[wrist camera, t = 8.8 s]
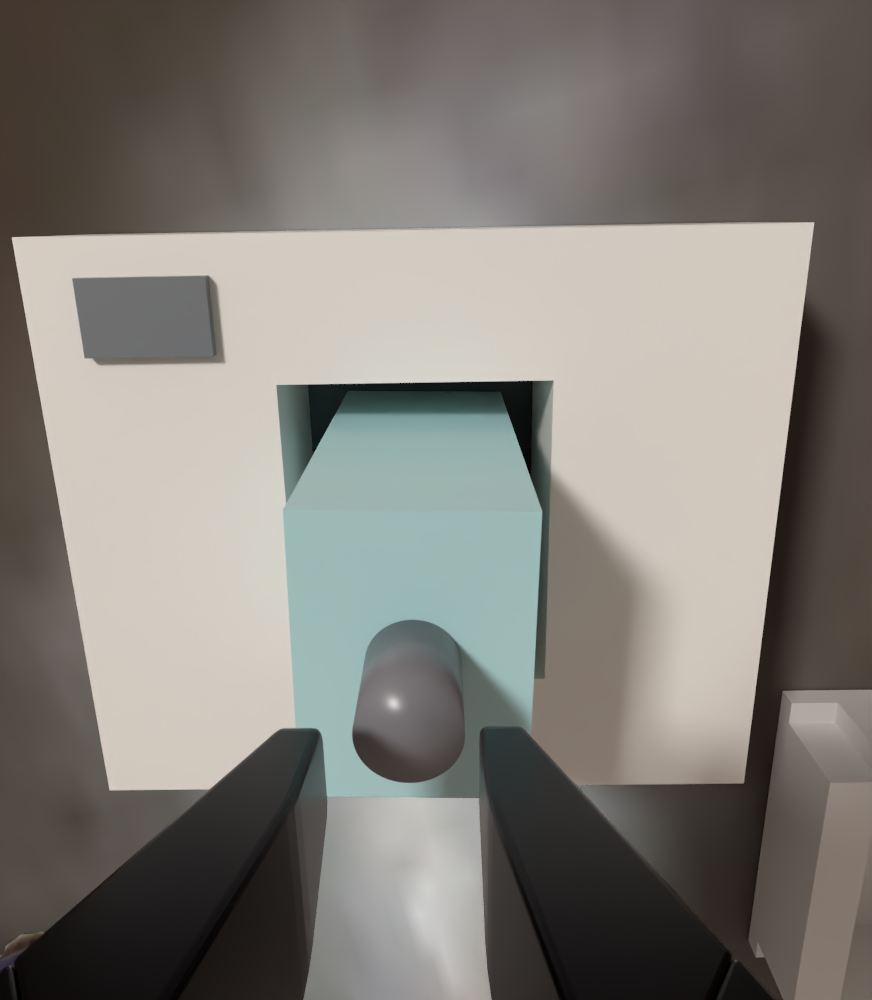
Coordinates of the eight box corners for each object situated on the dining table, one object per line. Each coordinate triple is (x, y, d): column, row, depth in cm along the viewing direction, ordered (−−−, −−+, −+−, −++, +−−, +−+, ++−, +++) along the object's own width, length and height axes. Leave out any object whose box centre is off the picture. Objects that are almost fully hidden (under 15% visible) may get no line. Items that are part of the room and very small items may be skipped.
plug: (500, 391, 16) (560, 564, 8) (494, 578, 17) (541, 886, 9) (348, 390, 16) (254, 561, 8) (353, 576, 17) (278, 884, 9)
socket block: (743, 222, 15) (820, 222, 12) (696, 695, 18) (748, 790, 15) (92, 234, 15) (4, 237, 12) (160, 701, 18) (105, 797, 15)
